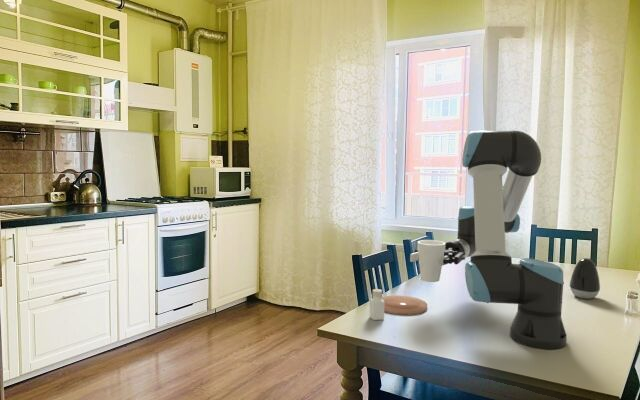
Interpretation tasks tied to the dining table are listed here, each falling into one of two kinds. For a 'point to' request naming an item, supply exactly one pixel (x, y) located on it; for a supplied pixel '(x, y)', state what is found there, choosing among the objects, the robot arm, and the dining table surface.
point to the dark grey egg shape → (585, 279)
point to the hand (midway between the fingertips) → (423, 260)
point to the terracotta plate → (404, 305)
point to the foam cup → (430, 259)
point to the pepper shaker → (377, 305)
